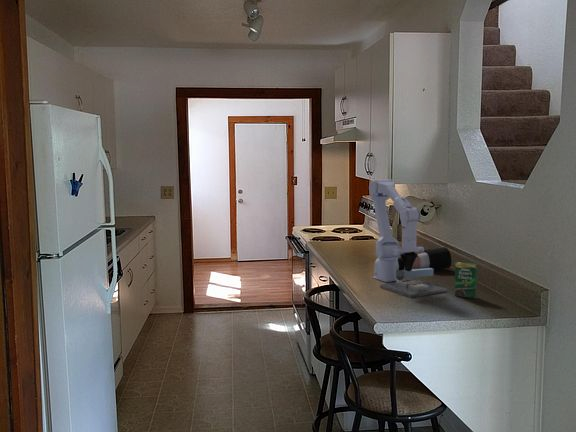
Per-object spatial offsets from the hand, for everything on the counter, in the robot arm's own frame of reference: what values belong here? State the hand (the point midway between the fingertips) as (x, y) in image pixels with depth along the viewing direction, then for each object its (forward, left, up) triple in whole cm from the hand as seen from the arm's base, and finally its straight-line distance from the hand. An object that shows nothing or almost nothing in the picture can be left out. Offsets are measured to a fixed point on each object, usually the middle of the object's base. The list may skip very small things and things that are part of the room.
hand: (408, 270), depth 218 cm
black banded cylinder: (-23, +25, -8) cm, 35 cm away
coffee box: (+20, +11, -8) cm, 24 cm away
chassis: (+2, +1, -7) cm, 8 cm away
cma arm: (-4, +7, -4) cm, 9 cm away
